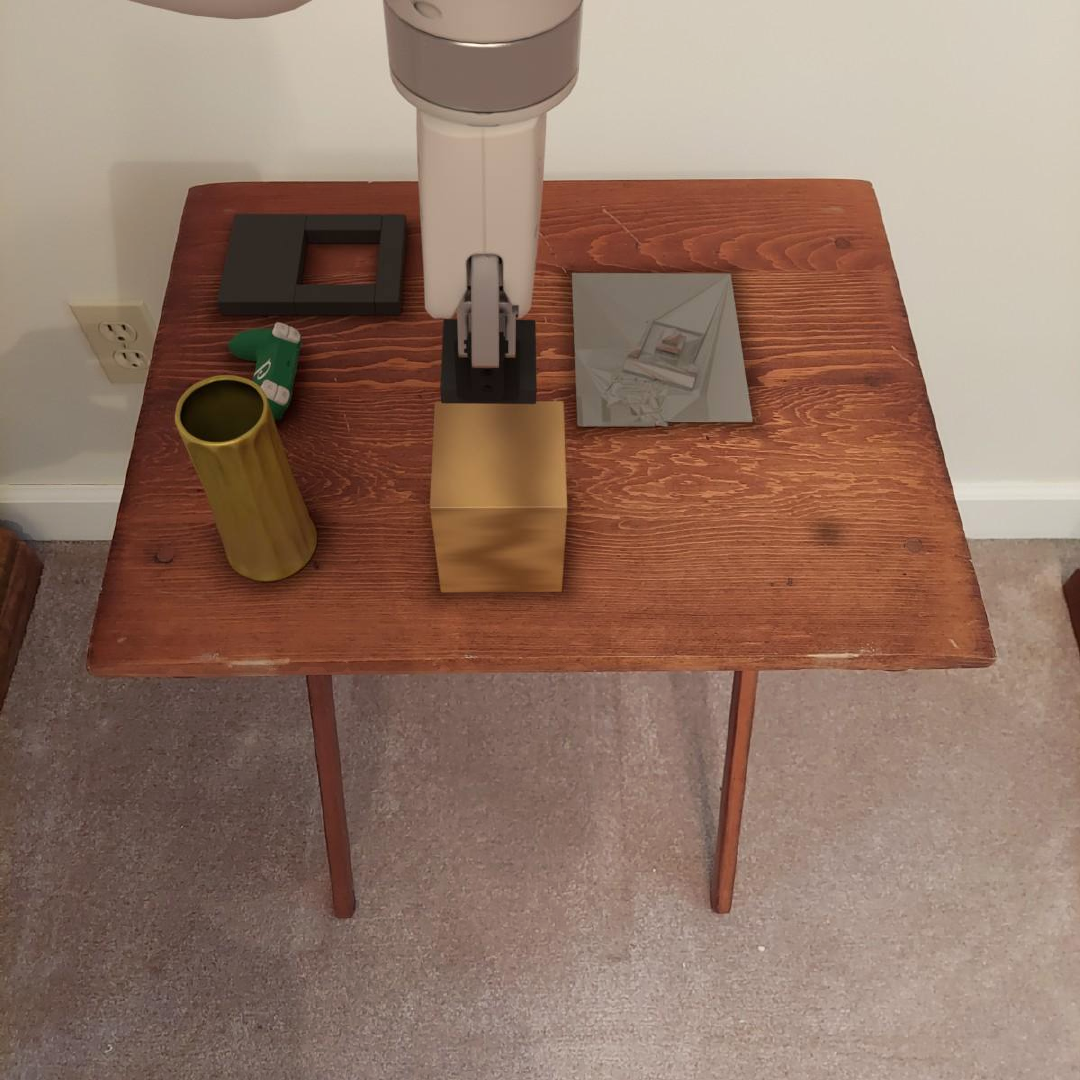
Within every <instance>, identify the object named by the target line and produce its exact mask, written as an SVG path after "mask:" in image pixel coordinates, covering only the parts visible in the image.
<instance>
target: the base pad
mask: <svg viewBox="0 0 1080 1080" xmlns="http://www.w3.org/2000/svg"><path fill="white" fill-rule="evenodd" d="M407 235H408V224H407V215H406V214H405V213H404V214H403V213H386V214H385V213H383V214H382V213H379V214H378V213H376V214H375V213H373V214H372V213H370V214H369V213H308V214H307V213H234V217H233V221H232V226H231V230H230V236H229V240H228V246H227V252H226V255H225V259H224V260H225V261H224V265H223V270H222V275H221V280H220V285H219V289H218V295H217V299H216V303H217V306H218V309H219V313H220V316H222V317H223V316H225V317H227V316H230V317H231V316H233V317H234V316H237V317H238V316H400V315H401V314H402V302H403V300H402V299H403V287H404V275H405V260H406V249H407ZM308 244H379V249H378V250H379V251H378V259H377V270H376V280H375V284H302V283H303V277H304V270H305V262H306V257H307V249H308Z"/></svg>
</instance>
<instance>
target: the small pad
mask: <svg viewBox="0 0 1080 1080" xmlns="http://www.w3.org/2000/svg"><path fill="white" fill-rule="evenodd" d="M536 325H537V323H536V320H535V319H516V340H520V390H519V398H518V399H517V400H515V401H462V400H460V399H458V398H457V390H456V372H455V354H454V339H458V327H457V318H451V319H445V318H443V320H442V336H441V337H442V341H441V361H440V362H441V364H440V383H439V391H440V392H439V394H440V402H441V403H460V404H536V401H537V394H538V393H537V391H538V390H537V388H538V387H537V386H538V385H537V382H538V381H537V335H536V333H537V331H536V330H537V329H536ZM469 332H471V313H469ZM499 332H504V337H505V313H499Z"/></svg>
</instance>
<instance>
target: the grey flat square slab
mask: <svg viewBox="0 0 1080 1080" xmlns="http://www.w3.org/2000/svg"><path fill="white" fill-rule="evenodd" d="M732 281H733V280H732V274H731V273H673V272H671V273H669V272H665V273H663V272H662V273H659V272H658V273H648V272H647V273H644V272H640V273H639V272H638V273H637V272H633V273H632V272H571V287H572V288H571V289H572V291H571V292H572V313H573V316H572V317H573V340H574V342H573V343H574V344H573V345H574V367H575V368H574V370H575V394H576V395H575V396H576V398H575V399H576V420H577V421H576V424H577V427H656V426H661V427H669V423H754V421H753V413H752V407H751V402H750V401H751V400H750V395H749V388H748V380H747V374H746V367H745V361H744V354H743V347H742V341H741V335H740V327H739V320H738V314H737V313H738V312H737V307H736V300H735V294H734V288H733V287H734V286H733V282H732ZM827 534H829V532H827Z"/></svg>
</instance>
